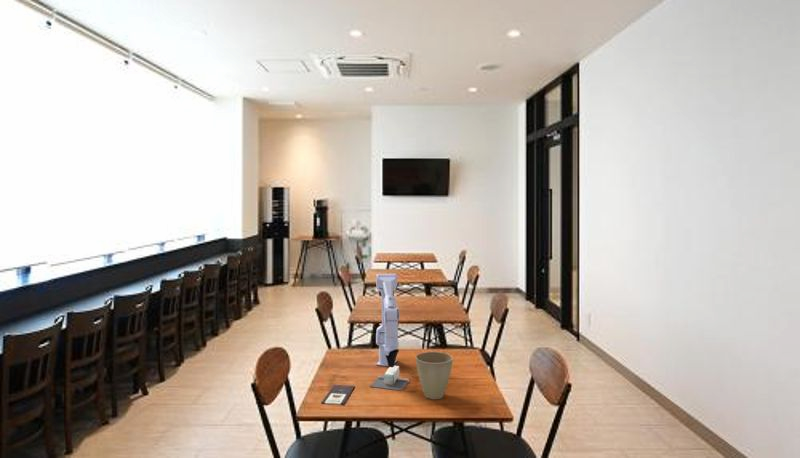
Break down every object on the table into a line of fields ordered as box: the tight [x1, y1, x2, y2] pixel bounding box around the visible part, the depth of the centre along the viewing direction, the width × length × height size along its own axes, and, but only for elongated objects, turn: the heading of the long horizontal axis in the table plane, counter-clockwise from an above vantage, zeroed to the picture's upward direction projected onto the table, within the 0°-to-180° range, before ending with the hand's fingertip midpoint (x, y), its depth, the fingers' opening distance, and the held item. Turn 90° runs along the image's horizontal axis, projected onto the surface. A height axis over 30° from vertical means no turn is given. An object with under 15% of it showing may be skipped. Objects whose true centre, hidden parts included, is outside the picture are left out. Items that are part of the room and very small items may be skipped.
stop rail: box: [376, 375, 410, 383], centre depth 214 cm, size 2×14×1 cm, turn 73°
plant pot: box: [415, 351, 454, 400], centre depth 197 cm, size 15×15×16 cm
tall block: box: [383, 365, 400, 385], centre depth 212 cm, size 4×4×9 cm
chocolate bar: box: [321, 384, 356, 406], centre depth 198 cm, size 9×1×18 cm
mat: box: [369, 379, 409, 392], centre depth 209 cm, size 9×14×1 cm, turn 73°
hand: (391, 366), depth 211 cm, fingers closed
